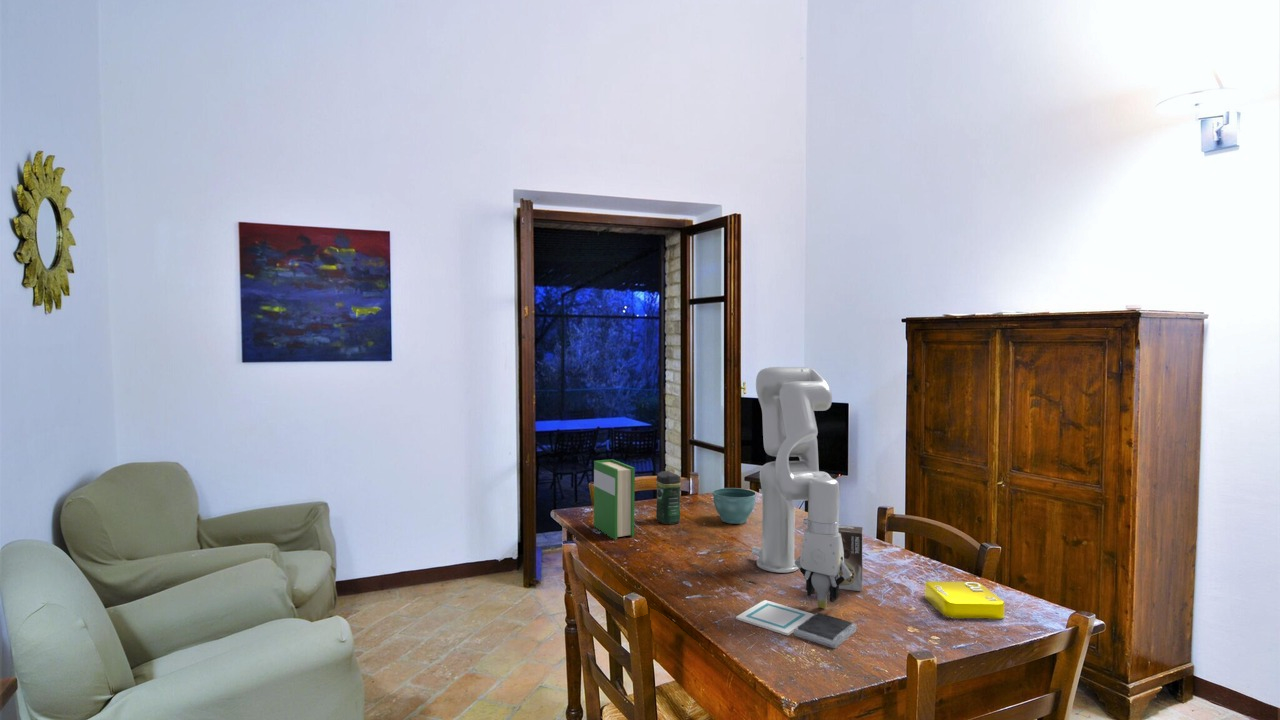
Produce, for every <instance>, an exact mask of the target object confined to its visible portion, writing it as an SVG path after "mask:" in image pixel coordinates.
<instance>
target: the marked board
mask: <svg viewBox="0 0 1280 720" xmlns="http://www.w3.org/2000/svg"><path fill="white" fill-rule="evenodd" d="M815 614H816V613H815ZM815 614H814V613H812V612H807V611H805V610H802V609H798V608H794V607H790V606H788V605H784V604H780V603H777V602H773V601H769V600H766V599H764V600H762V601H760V602H758V603H757V604H755V605H754V606H752V607H750V608H749V609H747V610H745V611H744V612H742V613H740V614H738V615H736V616H735V620H737V621H741V622H744V623H746V624H750V625H753V626H757V627H758V628H759V627H760V628H763V629H765V630H769V631H772V632H775V633H779V634H782V635H785V636H789V635H791V634H792V633H793V634H794V628H796V627H797V626H799V625H800V624H802V623H803V622H804V621H806V620H807V619H809V618H810V617H812V616H813V615H815Z"/></svg>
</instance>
